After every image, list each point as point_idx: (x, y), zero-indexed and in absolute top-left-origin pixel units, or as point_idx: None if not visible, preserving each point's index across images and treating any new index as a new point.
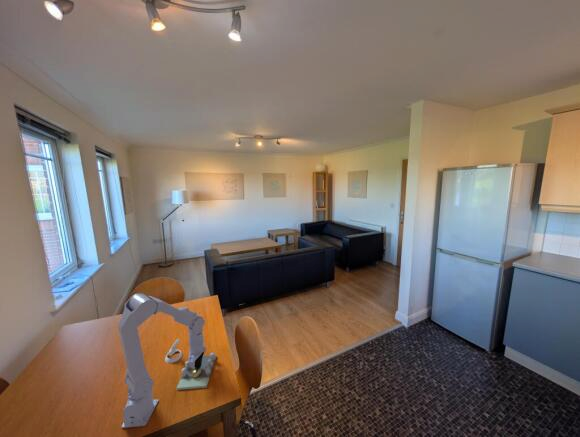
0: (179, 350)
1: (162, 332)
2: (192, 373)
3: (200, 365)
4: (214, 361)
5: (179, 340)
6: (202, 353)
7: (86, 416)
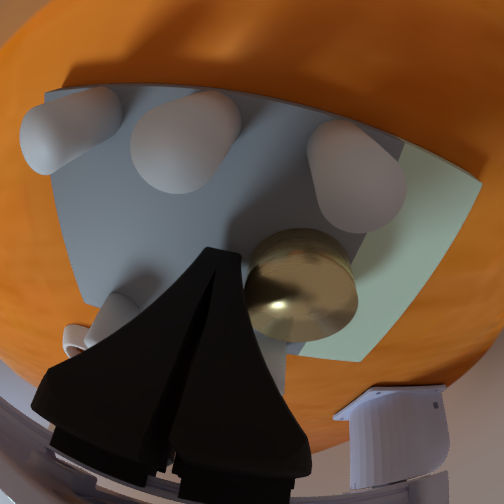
0: (66, 345)
1: (24, 352)
2: (326, 334)
3: (242, 284)
4: (122, 84)
5: (52, 431)
6: (148, 448)
7: (311, 444)
